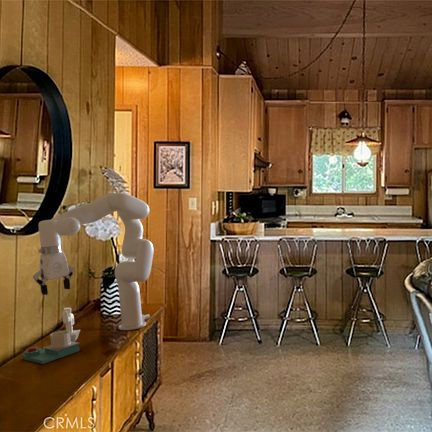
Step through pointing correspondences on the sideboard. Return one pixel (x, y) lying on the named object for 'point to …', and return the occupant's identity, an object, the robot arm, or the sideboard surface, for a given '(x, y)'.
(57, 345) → the cup
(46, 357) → the scale
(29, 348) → the tare button
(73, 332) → the figurine
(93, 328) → the sideboard surface
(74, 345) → the weighing plate
